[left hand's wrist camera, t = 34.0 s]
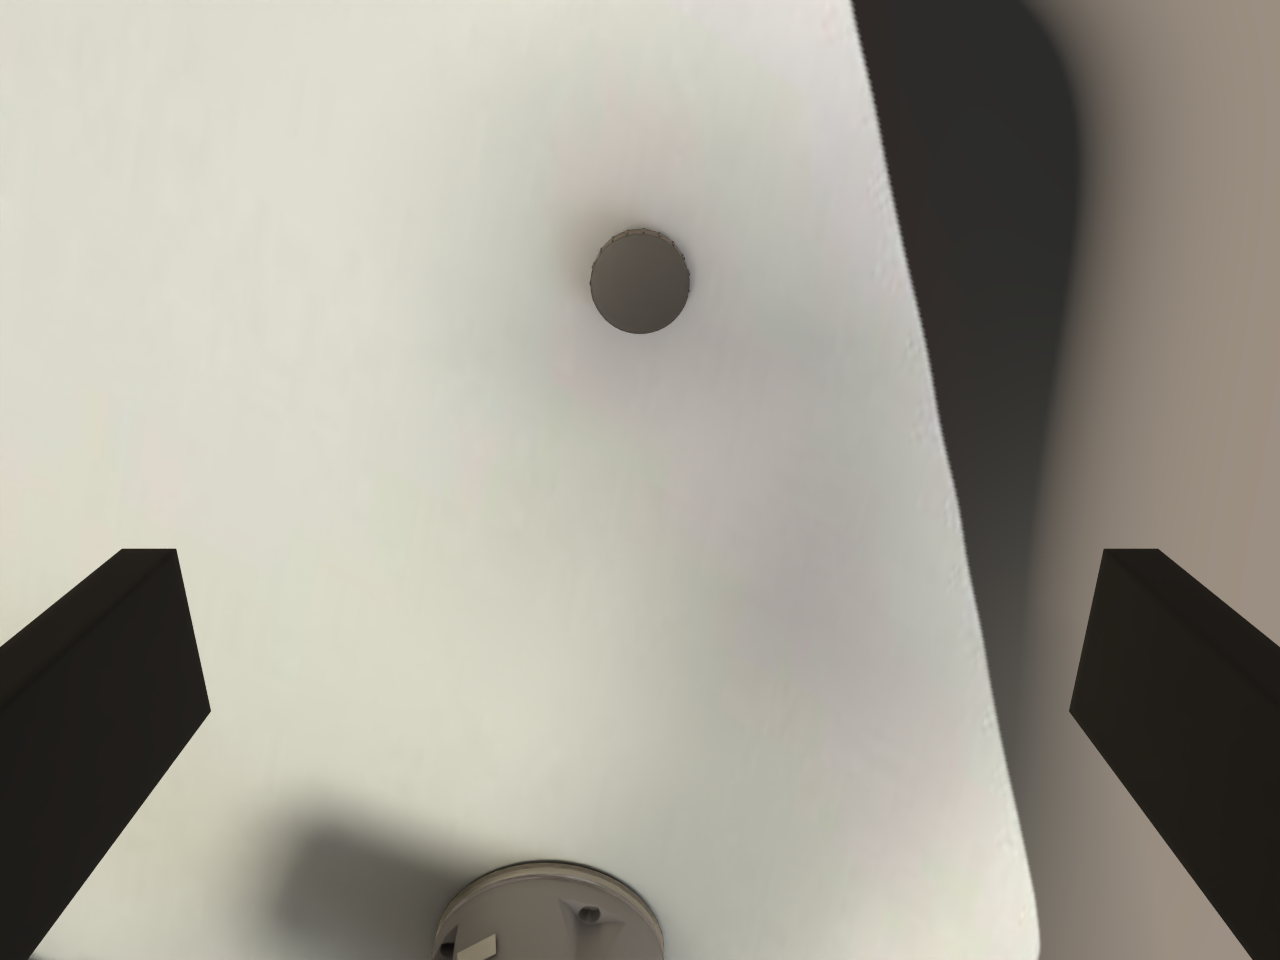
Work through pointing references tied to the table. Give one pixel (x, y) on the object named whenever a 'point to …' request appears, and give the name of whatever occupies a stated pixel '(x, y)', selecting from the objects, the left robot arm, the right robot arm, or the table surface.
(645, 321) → the cap
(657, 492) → the table surface
